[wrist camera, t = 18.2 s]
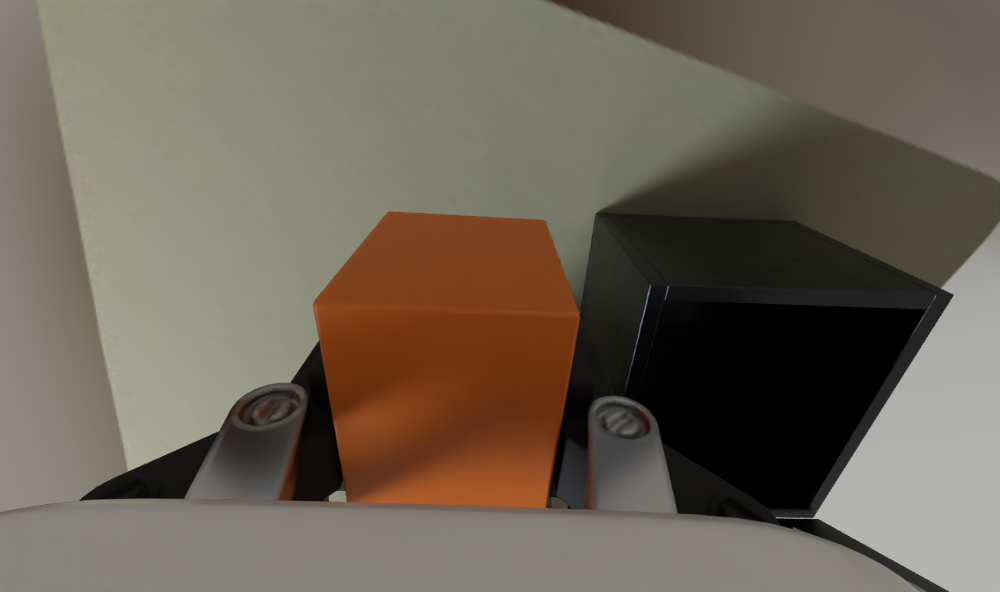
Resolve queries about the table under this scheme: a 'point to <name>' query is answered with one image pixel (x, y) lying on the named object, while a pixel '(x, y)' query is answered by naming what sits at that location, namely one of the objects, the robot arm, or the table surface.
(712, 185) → the table surface
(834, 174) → the table surface
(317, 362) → the robot arm
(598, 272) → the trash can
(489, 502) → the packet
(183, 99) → the table surface
